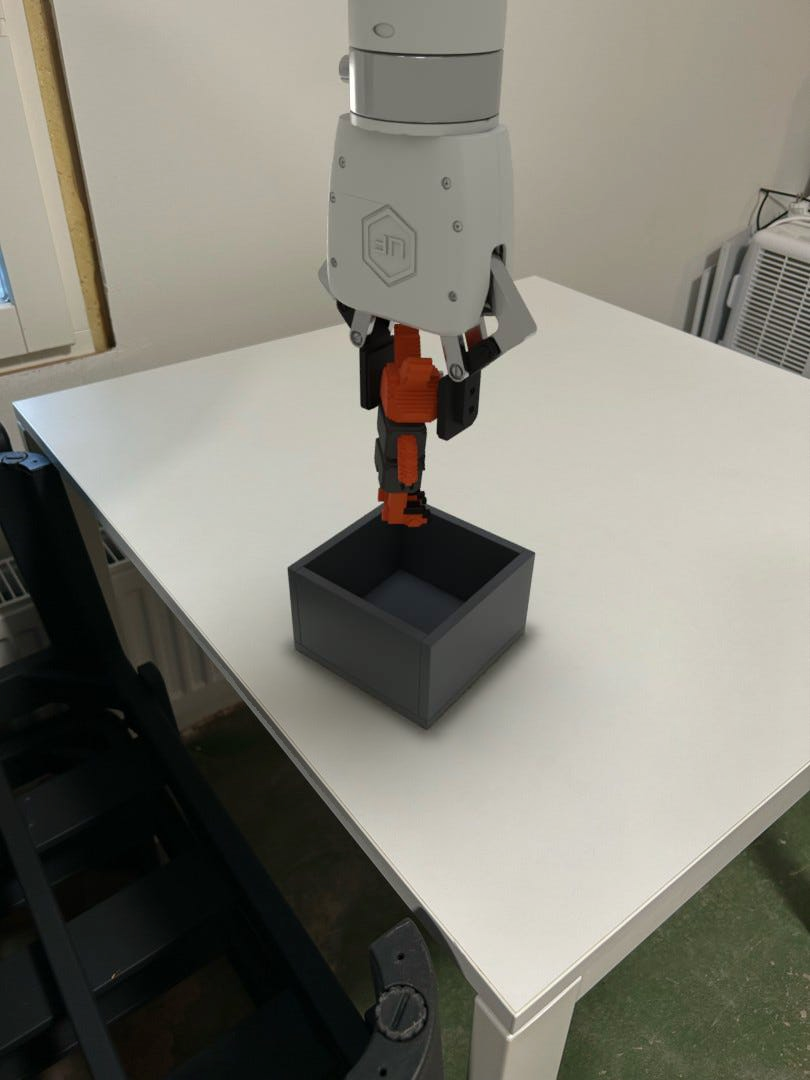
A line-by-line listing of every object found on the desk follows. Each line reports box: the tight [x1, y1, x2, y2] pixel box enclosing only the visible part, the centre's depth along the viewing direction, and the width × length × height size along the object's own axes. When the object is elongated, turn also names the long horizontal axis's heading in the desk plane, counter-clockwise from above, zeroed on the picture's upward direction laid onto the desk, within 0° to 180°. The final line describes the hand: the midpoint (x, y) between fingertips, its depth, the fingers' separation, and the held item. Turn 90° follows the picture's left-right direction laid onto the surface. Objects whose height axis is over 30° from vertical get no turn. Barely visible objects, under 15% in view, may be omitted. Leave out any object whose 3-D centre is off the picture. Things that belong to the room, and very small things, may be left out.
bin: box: [286, 502, 536, 730], centre depth 61 cm, size 13×13×8 cm
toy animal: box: [373, 323, 445, 527], centre depth 52 cm, size 8×6×12 cm
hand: (416, 413), depth 52 cm, fingers closed on toy animal, 5 cm apart
